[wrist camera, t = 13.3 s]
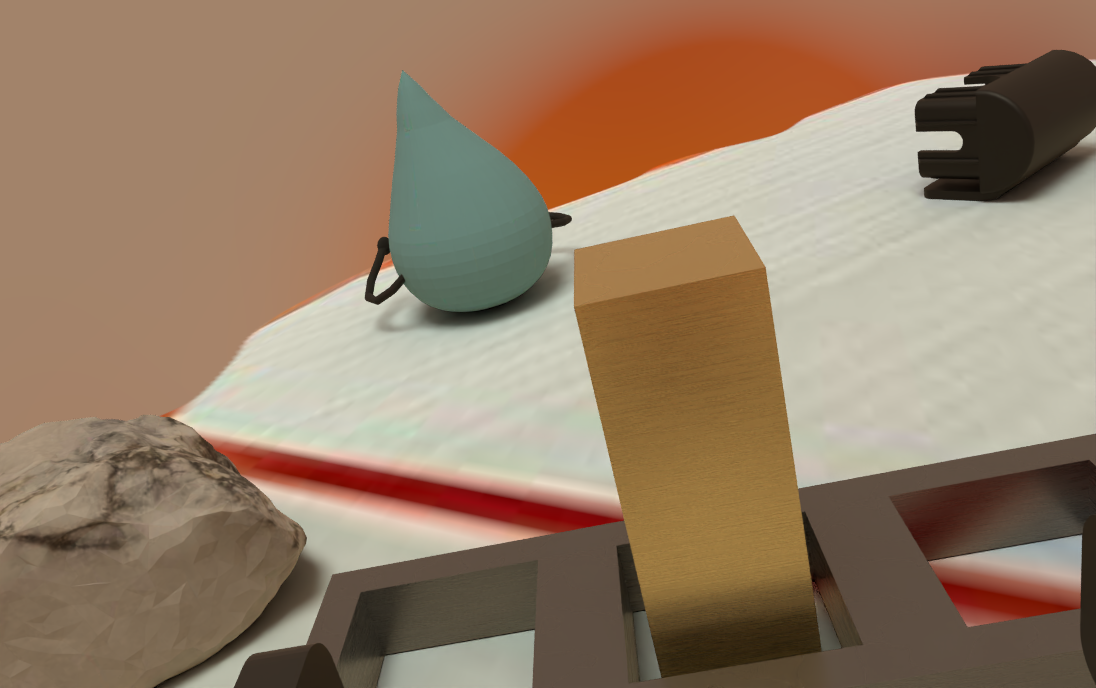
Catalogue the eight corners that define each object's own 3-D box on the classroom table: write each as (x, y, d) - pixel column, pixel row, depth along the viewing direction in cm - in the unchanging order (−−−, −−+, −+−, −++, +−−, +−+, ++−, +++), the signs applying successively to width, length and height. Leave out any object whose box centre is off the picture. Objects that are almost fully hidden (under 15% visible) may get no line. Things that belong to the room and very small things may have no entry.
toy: (545, 246, 67) (495, 36, 61) (634, 272, 57) (583, 25, 51) (358, 319, 61) (283, 95, 55) (421, 362, 51) (338, 95, 46)
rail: (289, 854, 23) (254, 783, 22) (356, 635, 30) (332, 574, 29) (1307, 700, 20) (1318, 611, 19) (1109, 502, 28) (1109, 430, 27)
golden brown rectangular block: (673, 730, 24) (574, 306, 19) (660, 625, 27) (574, 249, 23) (829, 706, 23) (765, 266, 19) (794, 603, 27) (733, 215, 22)
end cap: (1034, 208, 52) (1031, 87, 49) (916, 202, 57) (908, 94, 54) (1108, 155, 57) (1109, 44, 54) (994, 154, 62) (990, 53, 60)
